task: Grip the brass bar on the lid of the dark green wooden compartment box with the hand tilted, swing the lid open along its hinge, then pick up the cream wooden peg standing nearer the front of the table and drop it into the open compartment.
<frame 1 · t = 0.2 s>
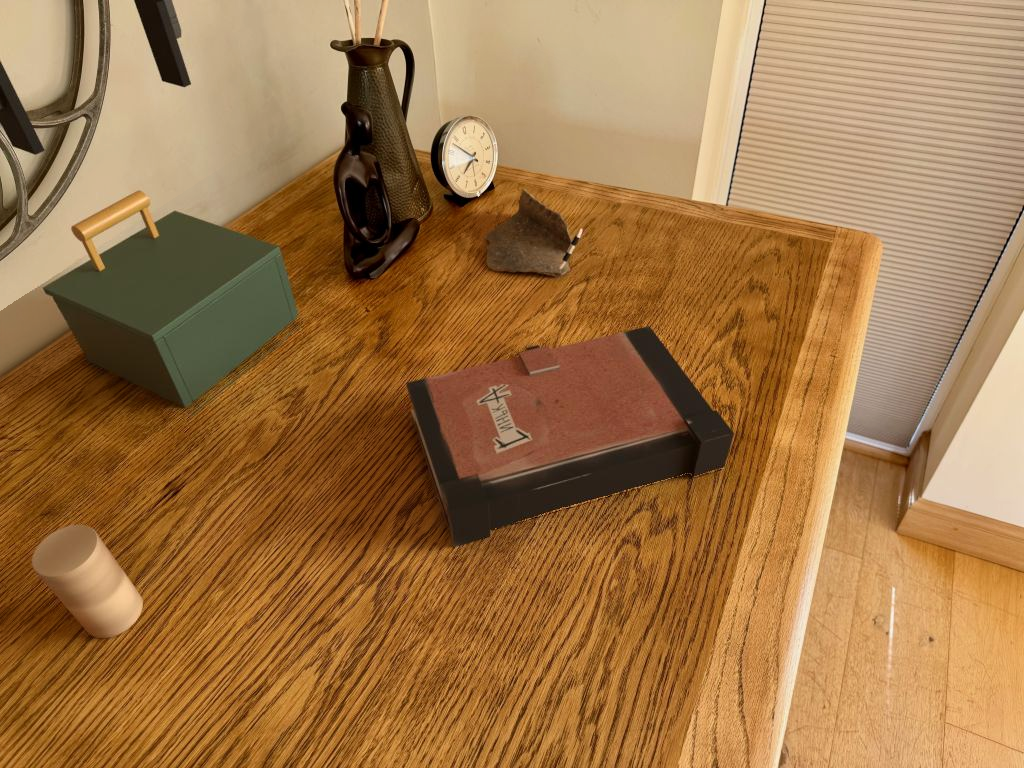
hand: (108, 113, 57), 30 cm above the table, tool pointing down, fingers open, 13 cm apart
red and black box: (559, 439, 71), on the table
chest: (200, 347, 82), on the table
lid: (156, 247, 73), point 13 cm above the table, hinge at 0.0°
pottery fragment: (522, 254, 95), on the table
peg: (114, 612, 58), on the table
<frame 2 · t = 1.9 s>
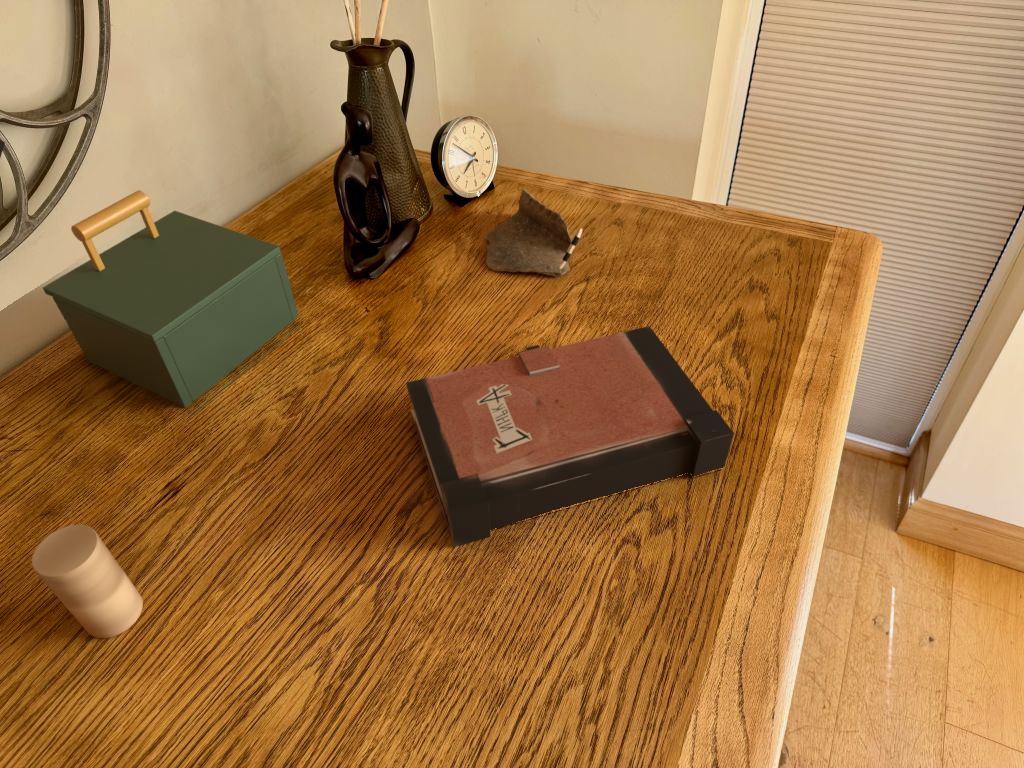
nothing on the table moved.
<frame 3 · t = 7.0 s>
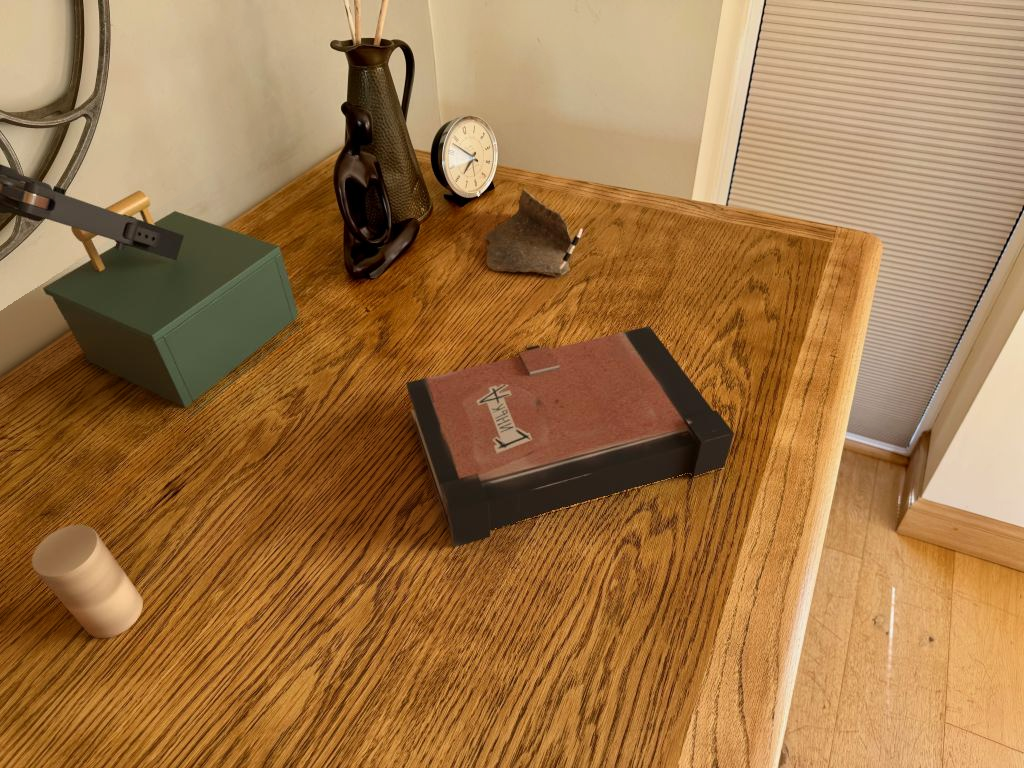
hand: (149, 237, 77), 12 cm above the table, tool tilted 45°, fingers closed on lid, 8 cm apart
lid: (156, 247, 73), point 13 cm above the table, hinge at -0.2°, touching chest, gripper
everything else where it was.
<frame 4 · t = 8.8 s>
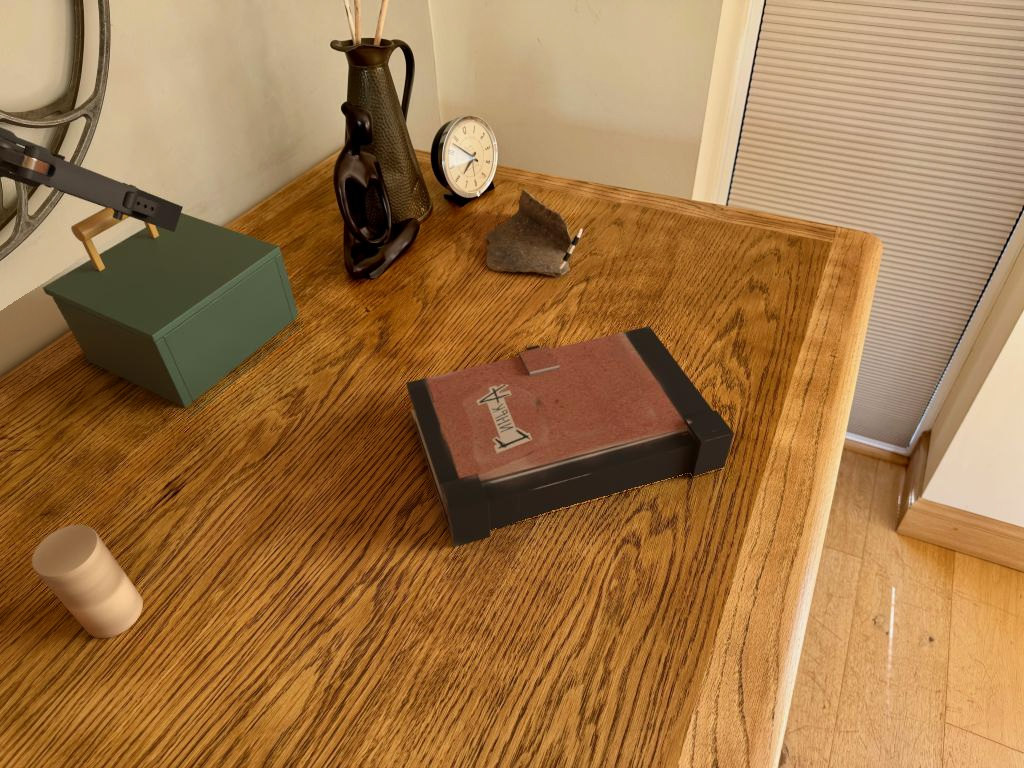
hand: (148, 208, 74), 15 cm above the table, tool tilted 45°, fingers open, 7 cm apart
lid: (156, 247, 73), point 13 cm above the table, hinge at 0.0°, touching gripper
everything else where it was.
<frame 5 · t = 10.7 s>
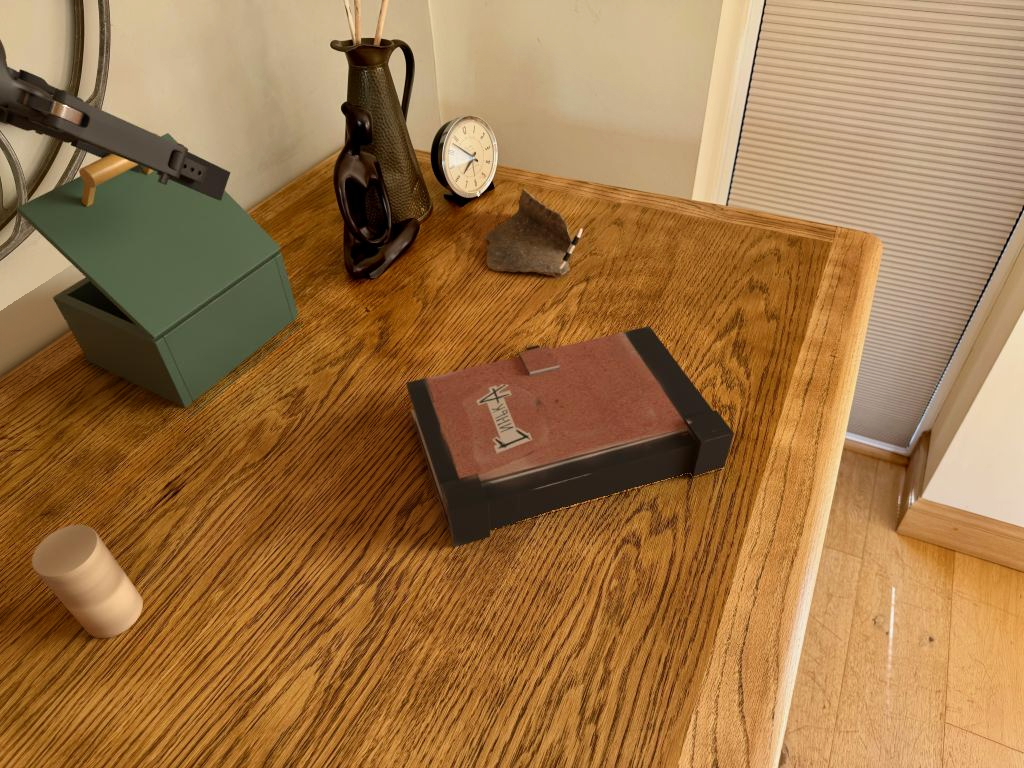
hand: (180, 171, 67), 21 cm above the table, tool tilted 45°, fingers open, 10 cm apart
lid: (165, 216, 69), point 18 cm above the table, hinge at 39.5°, touching gripper
everything else where it was.
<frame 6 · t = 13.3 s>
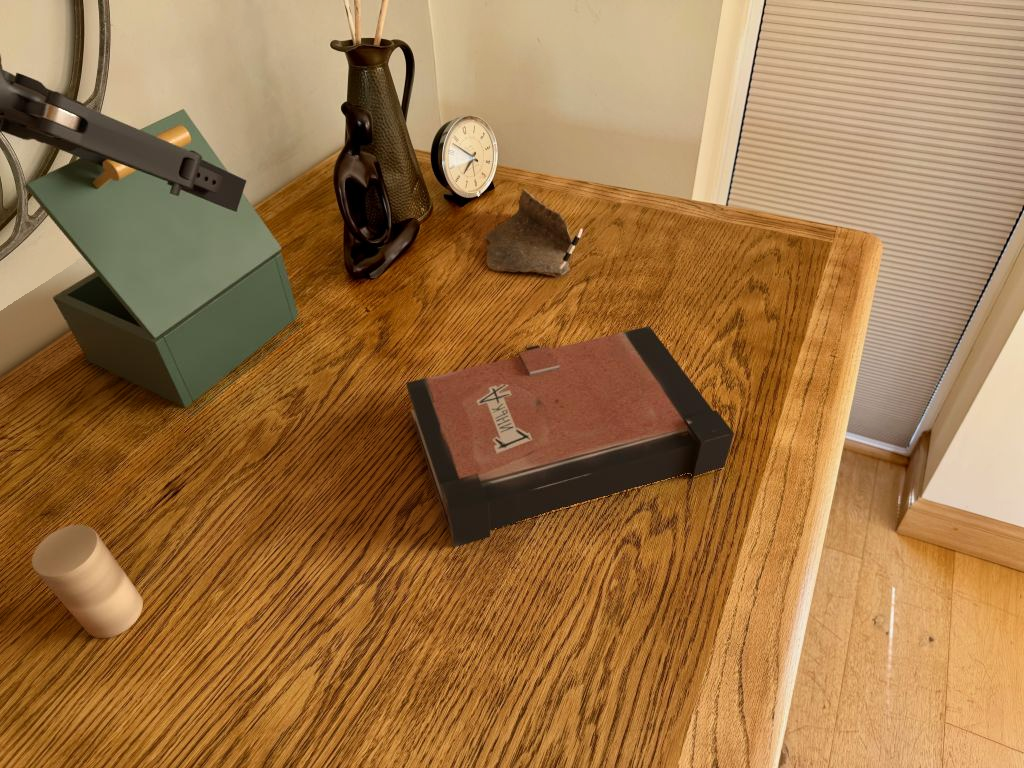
hand: (181, 177, 62), 23 cm above the table, tool tilted 45°, fingers open, 13 cm apart
lid: (179, 213, 67), point 19 cm above the table, hinge at 57.4°, touching gripper
everything else where it was.
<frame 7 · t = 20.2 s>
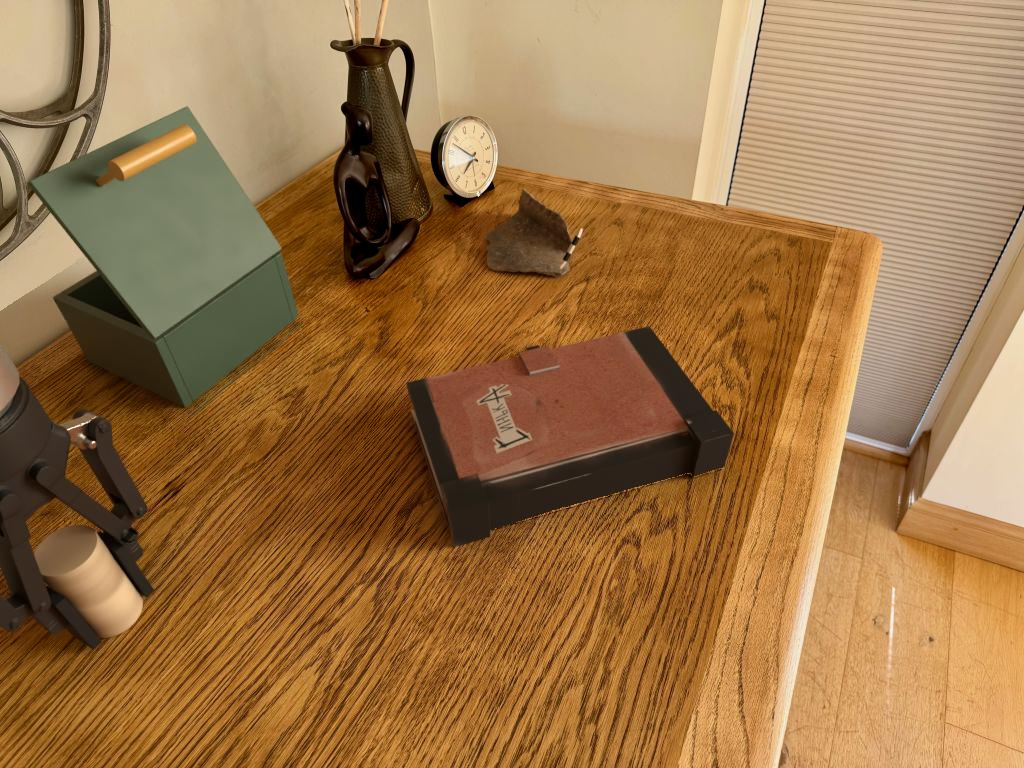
hand: (113, 611, 58), 0 cm above the table, tool pointing down, fingers closed on peg, 4 cm apart
lid: (182, 213, 67), point 19 cm above the table, hinge at 60.4°
peg: (114, 612, 58), on the table, touching gripper
everything else where it was.
when the fingers open (9 cm above the table, at t = 28.5 s): peg drops 7 cm, resting on chest.
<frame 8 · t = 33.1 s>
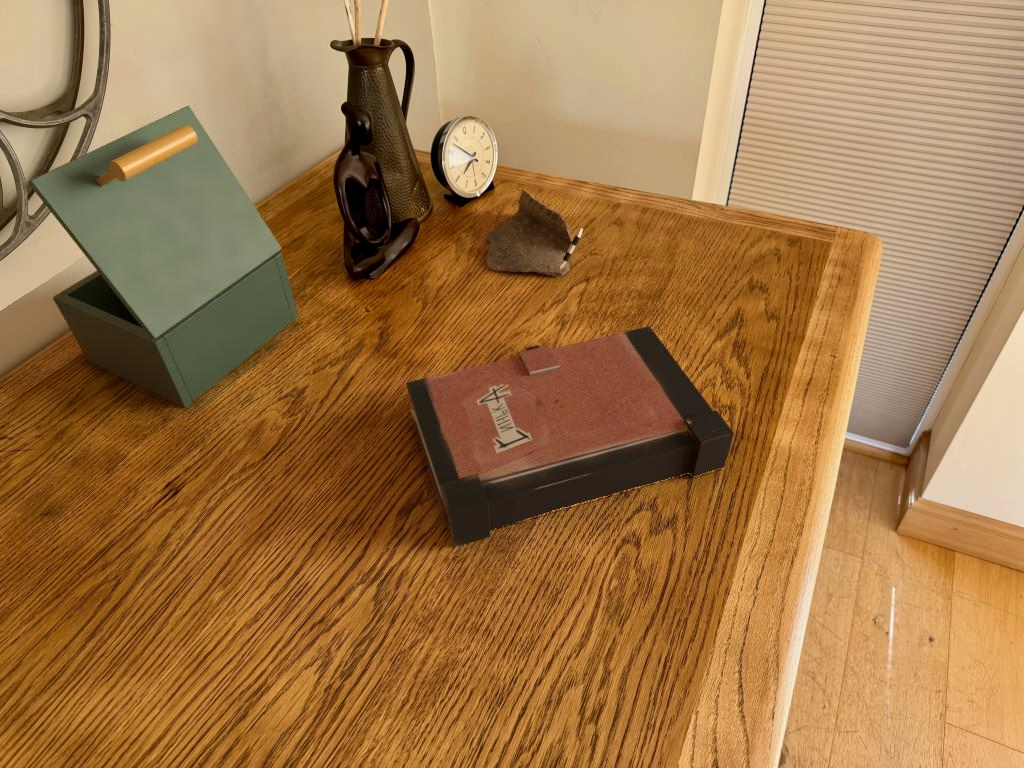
lid: (183, 213, 67), point 19 cm above the table, hinge at 61.2°
peg: (178, 331, 83), point 1 cm above the table, touching chest
everything else where it was.
at the end: lid at +61° (first picture: +0°); peg inside the target area in the chest (3.1 cm from its centre), point 1.0 cm above the chest's base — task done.
